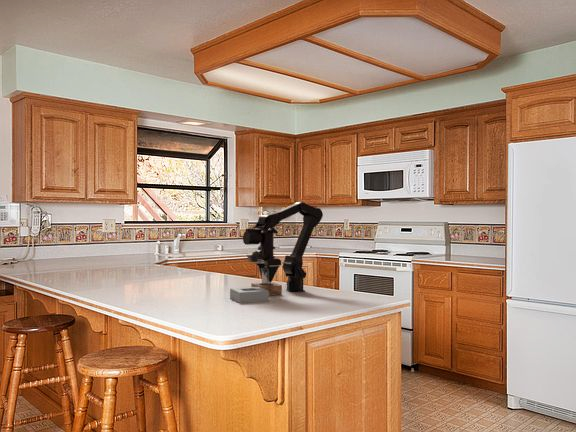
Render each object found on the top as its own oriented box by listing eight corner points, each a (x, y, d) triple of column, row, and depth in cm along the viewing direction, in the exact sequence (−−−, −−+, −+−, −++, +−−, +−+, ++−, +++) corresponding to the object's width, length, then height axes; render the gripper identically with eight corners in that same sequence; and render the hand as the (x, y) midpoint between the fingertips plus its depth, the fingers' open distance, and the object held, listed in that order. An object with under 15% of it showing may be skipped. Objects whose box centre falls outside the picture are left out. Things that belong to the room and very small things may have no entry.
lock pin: (269, 292, 225) (269, 267, 225) (273, 294, 221) (273, 268, 221) (259, 293, 223) (259, 267, 223) (263, 294, 219) (263, 268, 219)
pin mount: (272, 291, 228) (272, 282, 228) (281, 294, 219) (281, 285, 219) (251, 292, 224) (251, 283, 224) (259, 296, 215) (259, 286, 215)
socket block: (258, 296, 214) (258, 286, 214) (268, 301, 203) (268, 290, 203) (230, 298, 209) (230, 288, 209) (239, 303, 198) (239, 292, 198)
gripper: (241, 243, 227) (241, 278, 227) (256, 245, 210) (256, 284, 210) (265, 242, 232) (265, 277, 232) (282, 245, 215) (281, 283, 215)
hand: (266, 280), depth 222 cm, fingers open, 8 cm apart
